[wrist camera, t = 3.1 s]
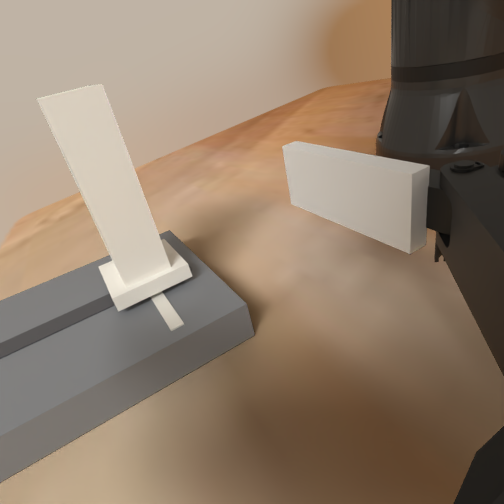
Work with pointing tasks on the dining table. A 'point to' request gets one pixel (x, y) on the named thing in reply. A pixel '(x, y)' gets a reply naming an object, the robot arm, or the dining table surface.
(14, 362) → the slider console
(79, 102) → the fader tab
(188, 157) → the dining table surface
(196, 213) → the dining table surface
